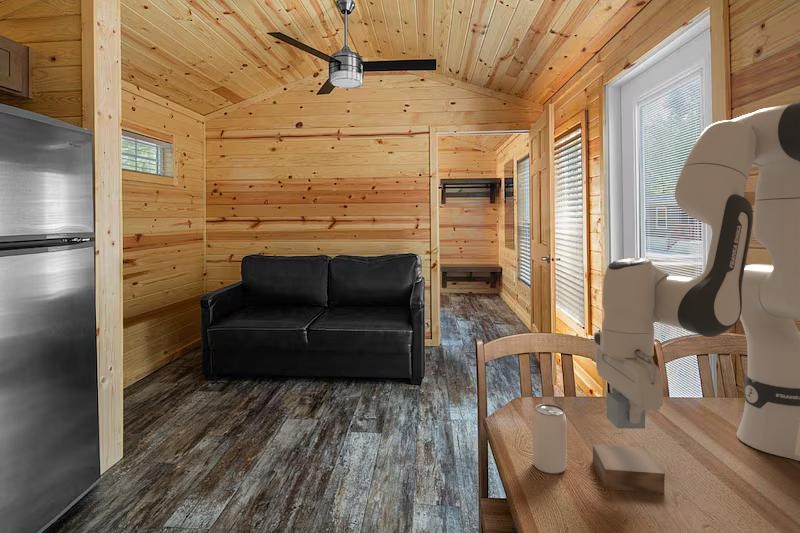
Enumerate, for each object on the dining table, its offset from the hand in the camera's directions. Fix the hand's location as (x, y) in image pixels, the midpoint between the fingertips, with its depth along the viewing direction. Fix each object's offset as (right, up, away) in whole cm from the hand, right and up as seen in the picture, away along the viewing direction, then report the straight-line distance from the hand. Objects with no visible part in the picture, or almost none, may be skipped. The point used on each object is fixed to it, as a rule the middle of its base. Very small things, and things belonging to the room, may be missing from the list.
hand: (625, 414), depth 86 cm
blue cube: (0, -2, 0) cm, 2 cm away
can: (-13, -13, +5) cm, 19 cm away
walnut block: (+1, -13, +1) cm, 13 cm away
